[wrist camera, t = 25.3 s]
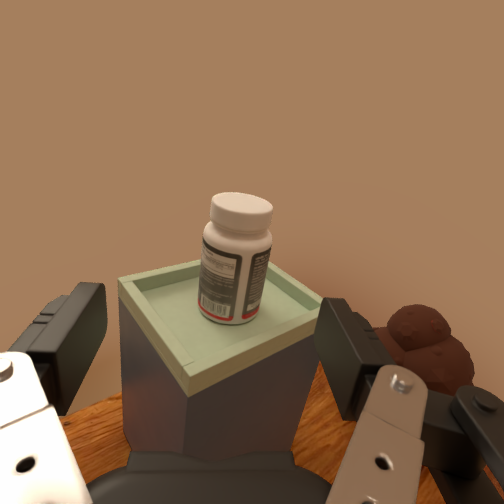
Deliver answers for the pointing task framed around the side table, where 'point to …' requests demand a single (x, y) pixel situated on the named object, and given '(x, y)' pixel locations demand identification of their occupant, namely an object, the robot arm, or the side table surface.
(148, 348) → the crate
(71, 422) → the side table surface
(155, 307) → the tray
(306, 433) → the side table surface
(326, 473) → the side table surface
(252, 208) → the pill bottle
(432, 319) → the ice cream bowl
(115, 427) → the side table surface
